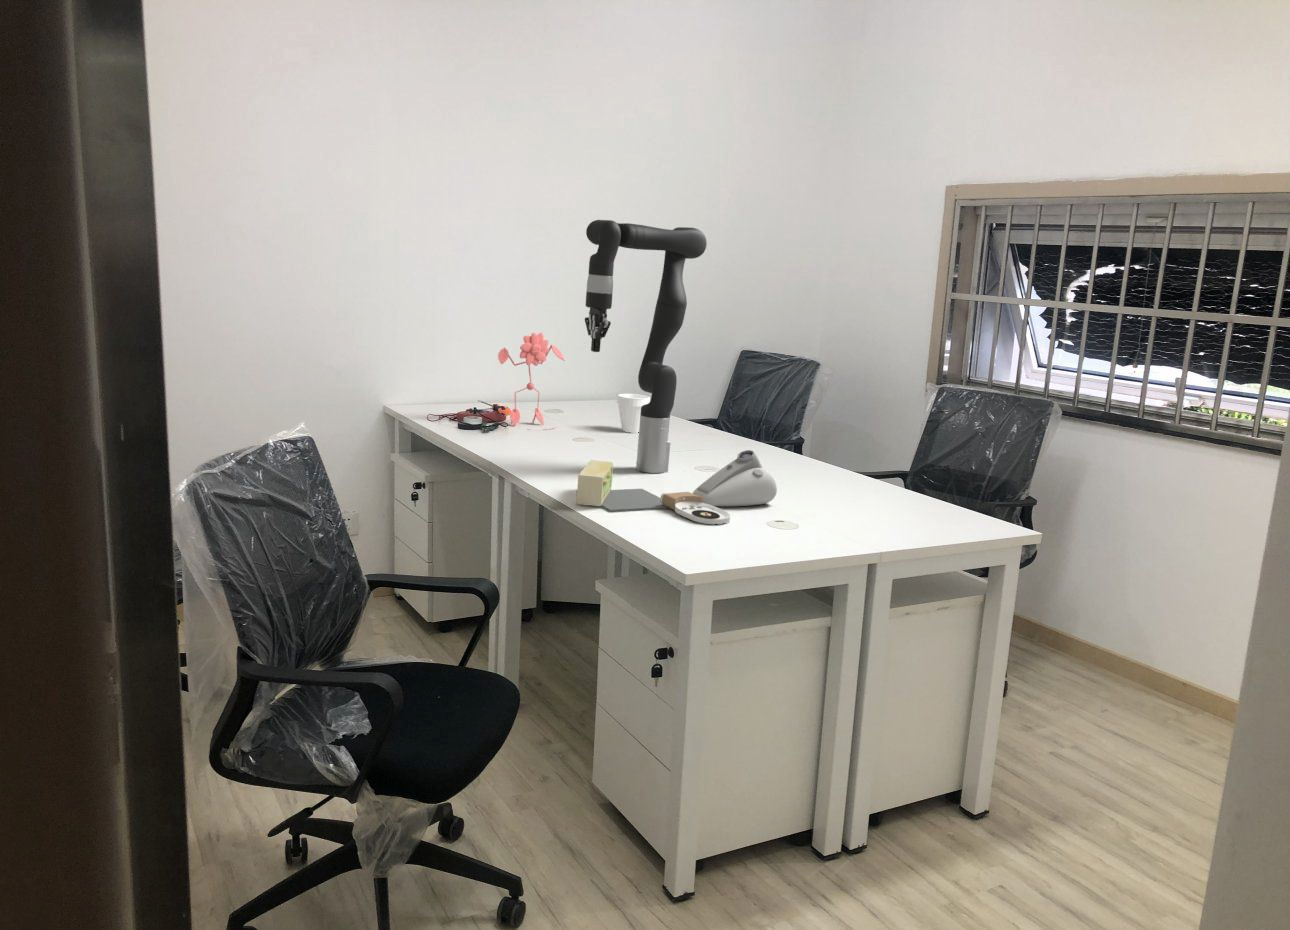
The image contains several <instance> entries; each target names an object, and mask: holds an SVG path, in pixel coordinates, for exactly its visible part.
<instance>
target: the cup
mask: <svg viewBox="0 0 1290 930" xmlns="http://www.w3.org/2000/svg"><path fill="white" fill-rule="evenodd" d="M616 400H617V402H616V403H617V405H618V410H619V411H618V412H619V418H620V424H621V431H622V430H623V431H626V432H631V433H630V434H639V433H638V432H639V425H640V413H641V407H642V406H643V405H645V404H648V403H649V402H650V401H651V397H650V396H648V395H644V394H637V393H620V394H618V395H617V399H616ZM623 431H622V432H623Z"/></svg>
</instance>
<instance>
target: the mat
mask: <svg viewBox="0 0 1290 930" xmlns="http://www.w3.org/2000/svg"><path fill="white" fill-rule="evenodd" d="M660 498H661V496H658V495H655V494H653V493H651V492H650V491H648V490H646V489H644V488H627V489H611V490H610V492H609V493H608V495H607V497H606V498H605V500H604V502H603V503H602V505H601V506H599V507H600V508H602V509H604V510H605V509H606V511H607V512H609V513H619V512H637V511H653V510H654V511H655V510H656V511H657V510H670V509H671V508H669V507H667V506H665V505H663V504H661V503H660ZM671 510H672V509H671Z"/></svg>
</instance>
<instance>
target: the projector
mask: <svg viewBox="0 0 1290 930" xmlns="http://www.w3.org/2000/svg"><path fill="white" fill-rule="evenodd" d="M777 492H778V487H777V483H776V481H775V479H774V477H773V476H772V475H771V474H770V472H769V471H767V469H764V468H763V466H762V464H761V461H760V459H759V457H758V456H757V454H756V453H755V451H754V450H752V449H750V450H749V449H747V450H743V451H740V452H739V453H737V457H736V459H734V460H732V461H731V462H729V463H728V464H726V465H725V466H724V467H722V468H721V469H719V470H718V471H716V472H715V473H714V474H712V475H711V476H710V477H708V478H707V479H705V481H703V482H702V483H701V484H700V485H698V486H697V487H696V488H695V489H694V490H693V492H692V494H694V495H697V496H699V497H701V498H702V503H706V504H710V505H712V506H715V507H747V506H748V507H749V506H757V505H758V506H760V505H764V504H768V503H769V502H771V501H772V500H774V499H775V497H777Z"/></svg>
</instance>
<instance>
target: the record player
mask: <svg viewBox="0 0 1290 930" xmlns="http://www.w3.org/2000/svg"><path fill="white" fill-rule="evenodd" d="M660 503H661V504H663V505H665V506H667V507H669V508H671V510H673V511H674V512H675V513H676V514H678V515H679V516H682V517H684V518H687V519H689V520H691V521H694V522H696V523H699V524H700V523H701V524H706V525H715V524H718V525H724V524H723V523H726V524H728V523H730V520H731V514H730V512H728V511H726V510H724V509H721V508H720V507H718V506H712V505H710V504H706V503H703V502H702V498H701V497H699V496H697V495H694V494H693V492H692V493H691V492H689V491H687V490H683V491H680V490H679V491H668V492H662V493H661V495H660ZM727 522H728V523H727Z"/></svg>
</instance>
